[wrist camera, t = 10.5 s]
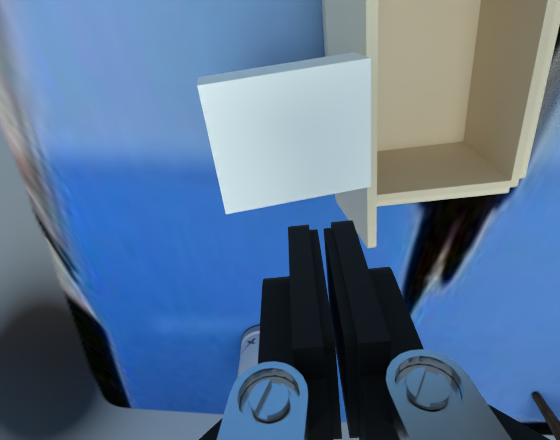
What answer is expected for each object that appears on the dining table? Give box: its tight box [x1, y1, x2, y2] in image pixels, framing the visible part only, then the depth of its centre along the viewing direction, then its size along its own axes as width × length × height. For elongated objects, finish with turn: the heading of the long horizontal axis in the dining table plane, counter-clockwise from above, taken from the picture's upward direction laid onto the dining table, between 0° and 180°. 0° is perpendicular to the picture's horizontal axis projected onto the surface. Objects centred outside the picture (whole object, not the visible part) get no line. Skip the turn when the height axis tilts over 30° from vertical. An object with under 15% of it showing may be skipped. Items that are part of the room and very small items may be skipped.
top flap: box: [197, 0, 378, 248], centre depth 23 cm, size 8×17×9 cm
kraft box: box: [321, 0, 560, 206], centre depth 31 cm, size 15×19×10 cm
